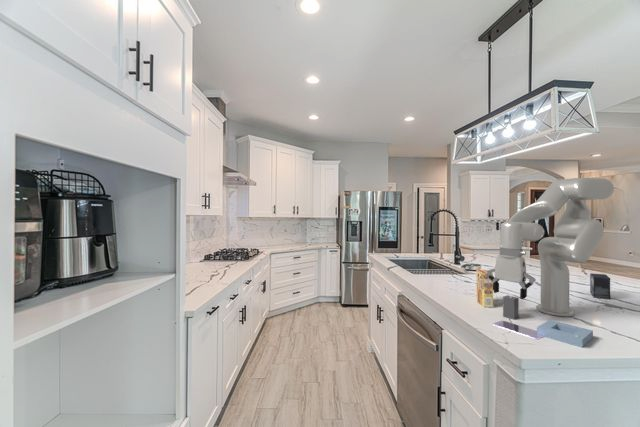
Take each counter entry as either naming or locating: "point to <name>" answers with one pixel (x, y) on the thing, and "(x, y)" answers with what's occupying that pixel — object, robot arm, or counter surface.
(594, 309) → the counter surface
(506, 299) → the block
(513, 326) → the mobile phone
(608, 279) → the small box
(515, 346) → the counter surface
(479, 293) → the candy box
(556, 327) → the blue square socket base
